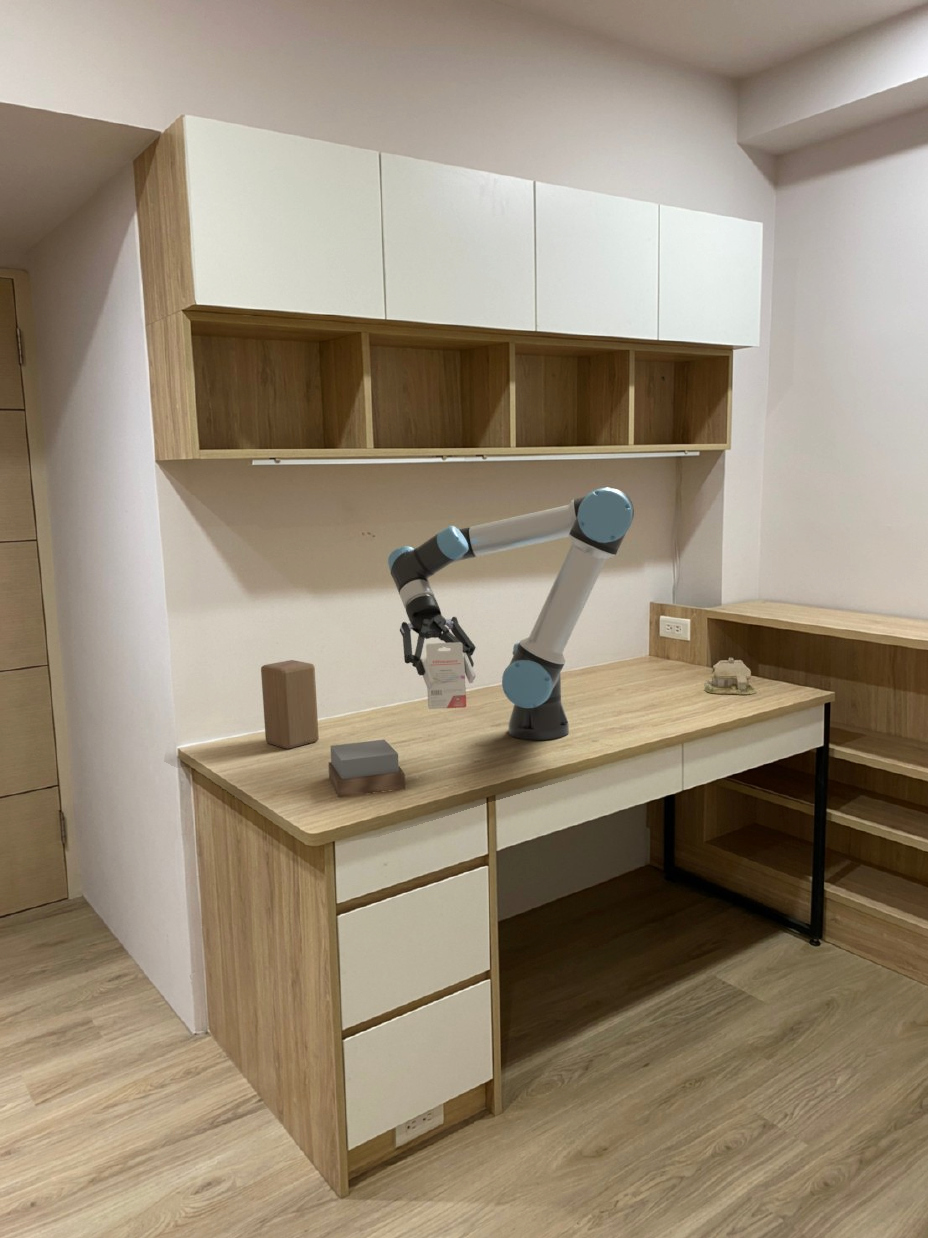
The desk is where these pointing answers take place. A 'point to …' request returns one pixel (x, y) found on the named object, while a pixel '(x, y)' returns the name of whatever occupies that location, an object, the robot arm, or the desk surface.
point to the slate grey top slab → (364, 759)
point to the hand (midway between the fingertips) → (451, 682)
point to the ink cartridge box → (446, 676)
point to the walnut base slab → (366, 783)
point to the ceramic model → (730, 678)
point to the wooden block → (289, 703)
